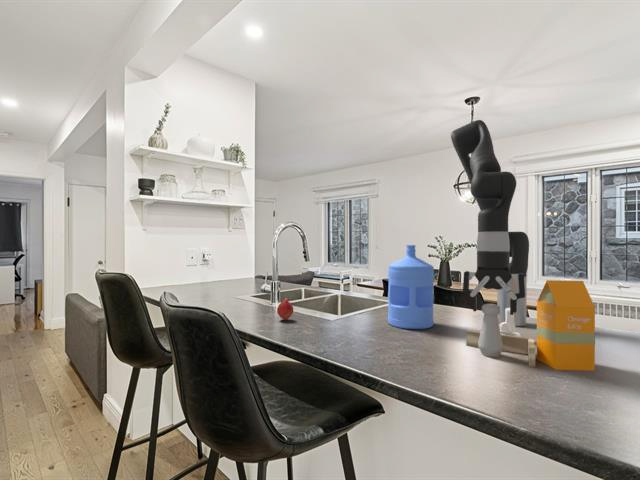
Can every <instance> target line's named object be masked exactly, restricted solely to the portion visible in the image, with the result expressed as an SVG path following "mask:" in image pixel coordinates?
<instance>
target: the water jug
mask: <svg viewBox="0 0 640 480" xmlns="http://www.w3.org/2000/svg"><path fill="white" fill-rule="evenodd" d="M434 268H435V267H434V265H432V264H431V263H428V262H426V261H424V260H422V259H421V258H418V257H417V256H416V244H415V245H414V244H409V245H408V244H406V256H405V257H402V258H401V259H399V260H397V261H394V262H392V263H390V264H389V265H388V271H387V272H388V273H387V275H388V276H387V277H388V289H387V290H388V292H387V300H388V308H387V309H388V310H387V311H388V315H387V323H388V324H389V325H391V326H392V327H395V328H399V329H406V330H427V329H430V328H431V327H433V326H434V322H435V319H434V301H435V300H434V299H435V297H434V296H435V295H434V278H435V271H434V270H435V269H434Z"/></svg>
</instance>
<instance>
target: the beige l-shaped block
mask: <svg viewBox="0 0 640 480" xmlns="http://www.w3.org/2000/svg"><path fill="white" fill-rule="evenodd" d="M480 332H481V331H476V330H469V329H468V330H467V329H466V332H465V335H466V336H465V343H466V344H465V345H466V346H469V347H474V348H479V346H478V342H479V337H480ZM501 337H502V343H503V350H502V352H511V353H517V354H522V355H523V354H526V355H528V367H533V368H536V346H535V345H536V344H535V340H534V338H533V337H525V336H523V337H518V336H510V335H502V334H501Z"/></svg>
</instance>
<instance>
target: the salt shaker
mask: <svg viewBox="0 0 640 480" xmlns="http://www.w3.org/2000/svg"><path fill="white" fill-rule="evenodd" d="M481 312H482V313H483V318H482V324H481V329H480V331H479V332H480V337H479V342H478V346H479V347H478V348H479V351H480V353H481V355H483V356H485V357H488V358H493V357H494V358H500V356H501V354H502V352H503V351H502V350H503V343H502V337H501V332H500V331H501V329H500V323H499V322H498V316H497V315H498V314H500V307H499V306H498V305H497V304H495V303H484V304H483V305H482V306H481Z"/></svg>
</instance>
